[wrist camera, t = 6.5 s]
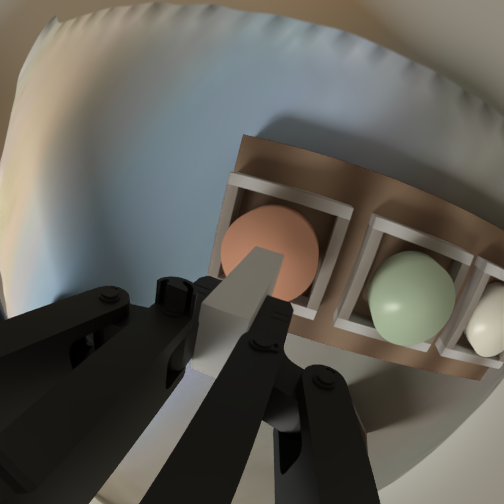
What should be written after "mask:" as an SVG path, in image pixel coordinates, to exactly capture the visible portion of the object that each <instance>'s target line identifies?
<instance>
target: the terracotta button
mask: <svg viewBox="0 0 504 504" xmlns="http://www.w3.org/2000/svg"><path fill="white" fill-rule="evenodd" d="M255 246H258V247H261V248H264V249H267V250H270V251H273V252H277V253H280V254H283V255H284V259H283V262H282V265H281V269H280V272H279V275H278V278H277V281H276V285H275V288H274V291H273V294H272V297H275V298H278V299H281V300H284V301H287V302H288V301H290V300H293V299H295V298H297V297H298V296H299V295H301V294H302V293H303V292H304V291H305V290H306V289H307V288H308V287H309V286H310V284H311V283H312V281H313V279H314V277H315V274H316V271H317V266H318V256H319V243H318V238H317V235H316V232H315V230H314V228H313V226H312V225H311V223H310V222H309V221H308V220H307V218H306V217H304V216H303V215H302V214H301V213H299V212H298V211H296V210H294V209H293V208H290V207H287V206H284V205H277V204H270V205H264V206H260V207H257V208H255V209H253V210H251V211H250V212H248V213H246V214H244V215H242V216H241V217H239V218H238V219H237V220H236V221H235V222H233V223H232V225H231V226H230V227H229V228H228V230H227V232H226V233H225V236H224V238H223V241H222V245H221V263H222V267H223V270H224V273H225V275H226V277H227V276H228V275H229V273H230V272H231V271H232V270H233V269H234V268H235V267H236V266H237V265H238V264H239V263H240V262H241V261H242V260H243V259H244V258H245V257H246V256H247V255H248V254H249V253H250V251H251V250H252V249H253V248H254V247H255Z"/></svg>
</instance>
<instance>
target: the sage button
mask: <svg viewBox="0 0 504 504" xmlns="http://www.w3.org/2000/svg"><path fill="white" fill-rule="evenodd" d="M367 297H368V304H369V308H370V312H371V315H372V319H373V322H374V325H375V328H376V330H377V331H378V333H379V334H380V335H381V336H382V337H383V338H384V339H386V340H387V341H389V342H391V343H393V344H397V345H404V346H408V345H415V344H419V343H422V342H424V341H426V340H428V339H430V338H432V337H433V336H434V335H436V334H437V333H438V332H439V331H440V330H441V329H442V328H443V327H444V326H445V324H446V323H447V321H448V320H449V318H450V316H451V314H452V312H453V309H454V305H455V297H456V295H455V287H454V283H453V280H452V279H451V277H450V275H449V274H448V272H447V271H446V270H445V269H444V268H442V267H441V266H440V265H439V264H438V263H437V262H436V261H435V260H434V259H433V258H432V257H430V256H429V255H427V254H425V253H423V252H419V251H403V252H400V253H397V254H394V255H392V256H391V257H389V258H388V259H386V260H385V261H384V262H383V263H382V264H381V265H380V266H379V267H378V268H377V269H376V271H375V272H374V274H373V276H372V278H371V280H370V283H369V287H368V294H367Z"/></svg>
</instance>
